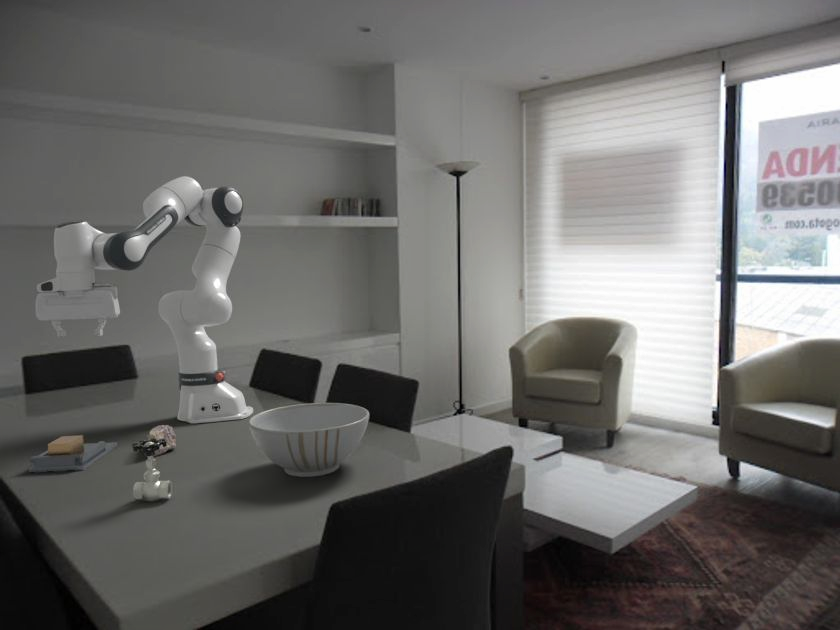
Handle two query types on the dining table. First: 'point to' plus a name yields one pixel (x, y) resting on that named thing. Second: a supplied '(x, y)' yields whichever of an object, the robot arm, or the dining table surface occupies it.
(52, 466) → the tray
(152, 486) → the valve
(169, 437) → the mineral specimen
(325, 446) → the decorative bowl
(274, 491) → the dining table surface
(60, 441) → the cardboard shipping carton
